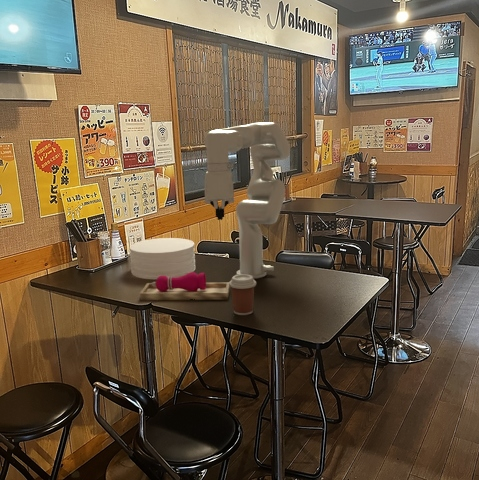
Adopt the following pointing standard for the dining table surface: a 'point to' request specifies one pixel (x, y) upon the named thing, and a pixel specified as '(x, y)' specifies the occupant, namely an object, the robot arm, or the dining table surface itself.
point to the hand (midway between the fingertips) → (220, 219)
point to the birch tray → (186, 293)
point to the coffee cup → (242, 293)
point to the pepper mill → (181, 282)
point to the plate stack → (162, 258)
